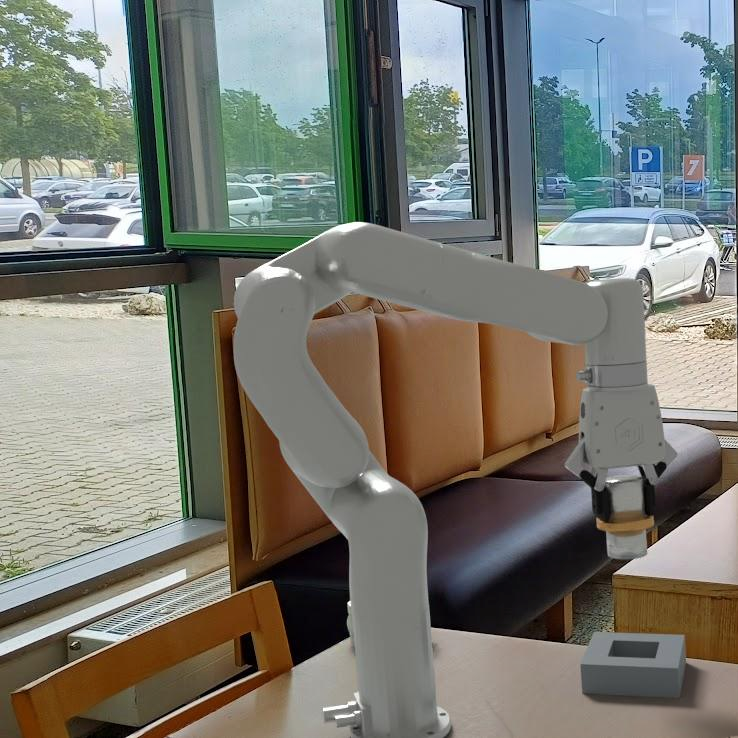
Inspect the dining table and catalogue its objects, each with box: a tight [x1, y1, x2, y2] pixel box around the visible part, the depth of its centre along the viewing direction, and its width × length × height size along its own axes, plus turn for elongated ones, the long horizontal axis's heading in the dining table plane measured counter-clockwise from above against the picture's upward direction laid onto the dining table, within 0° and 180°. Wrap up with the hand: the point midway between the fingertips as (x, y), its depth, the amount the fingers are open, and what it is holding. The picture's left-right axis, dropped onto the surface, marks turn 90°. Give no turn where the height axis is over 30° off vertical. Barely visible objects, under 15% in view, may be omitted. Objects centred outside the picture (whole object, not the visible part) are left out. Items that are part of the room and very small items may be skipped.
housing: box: [580, 631, 687, 699], centre depth 149 cm, size 12×12×5 cm
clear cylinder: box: [596, 474, 655, 560], centre depth 147 cm, size 7×7×10 cm
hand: (624, 515), depth 147 cm, fingers closed on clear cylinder, 5 cm apart
